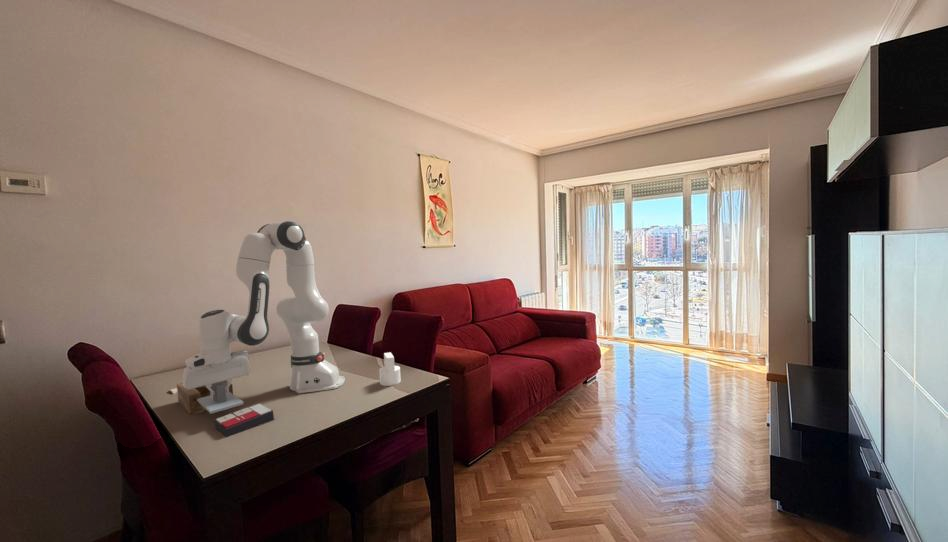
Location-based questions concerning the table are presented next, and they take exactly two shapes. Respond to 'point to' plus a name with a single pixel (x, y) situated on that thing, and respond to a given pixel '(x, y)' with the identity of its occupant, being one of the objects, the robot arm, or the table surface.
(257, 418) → the black red flat block
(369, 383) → the table surface
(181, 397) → the walnut box
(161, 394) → the table surface
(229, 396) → the cover plate
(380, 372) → the cylinder with rectangular tab
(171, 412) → the table surface
